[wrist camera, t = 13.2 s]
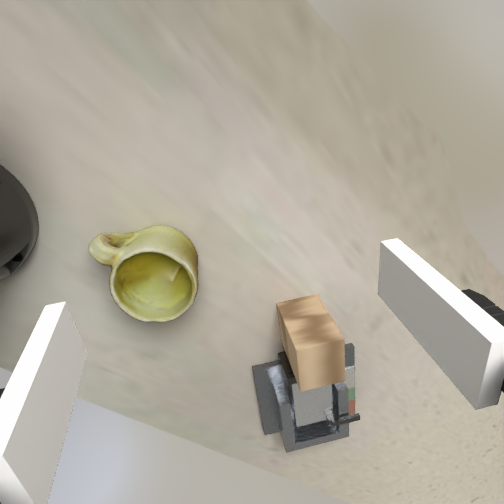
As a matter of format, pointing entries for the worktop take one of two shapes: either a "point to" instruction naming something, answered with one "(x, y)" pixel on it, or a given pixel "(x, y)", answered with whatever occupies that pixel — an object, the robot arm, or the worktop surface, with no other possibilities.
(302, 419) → the grey blocky piece
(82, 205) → the worktop surface
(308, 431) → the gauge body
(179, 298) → the mug
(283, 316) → the block
